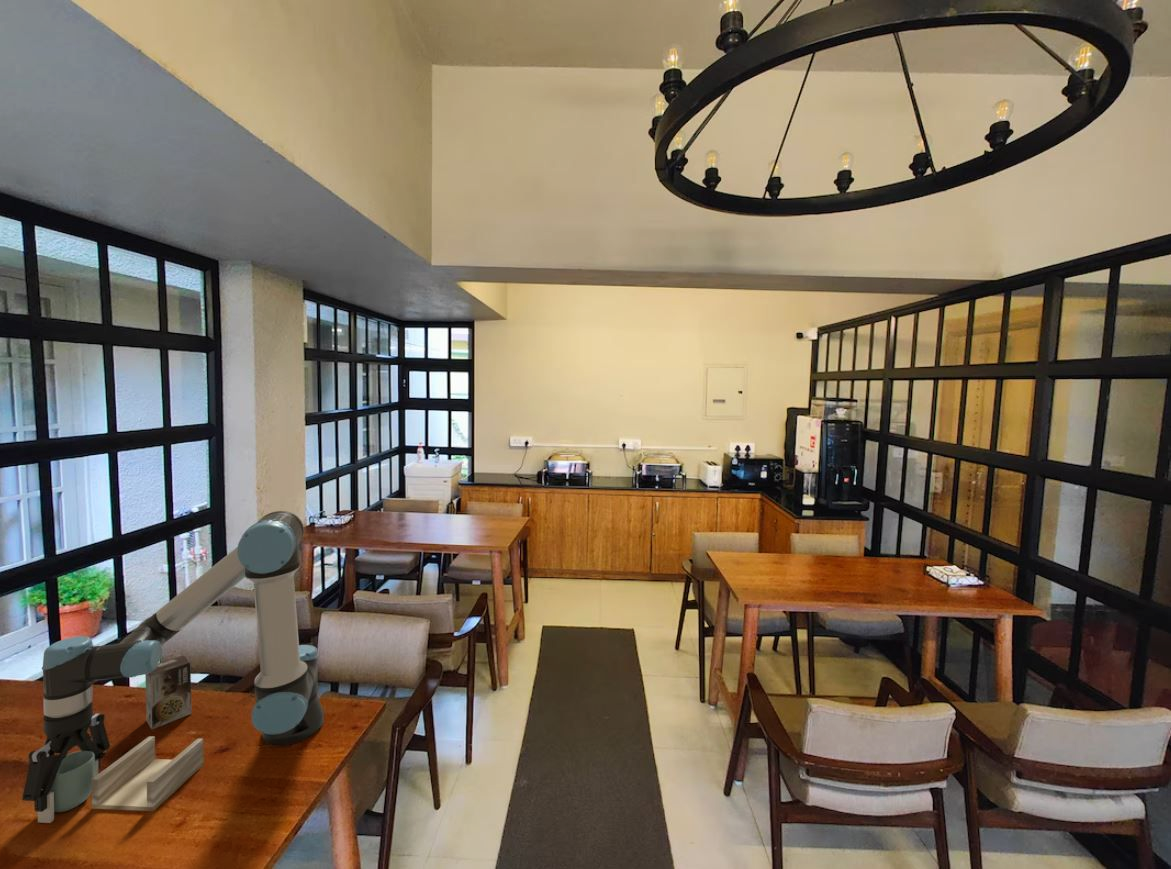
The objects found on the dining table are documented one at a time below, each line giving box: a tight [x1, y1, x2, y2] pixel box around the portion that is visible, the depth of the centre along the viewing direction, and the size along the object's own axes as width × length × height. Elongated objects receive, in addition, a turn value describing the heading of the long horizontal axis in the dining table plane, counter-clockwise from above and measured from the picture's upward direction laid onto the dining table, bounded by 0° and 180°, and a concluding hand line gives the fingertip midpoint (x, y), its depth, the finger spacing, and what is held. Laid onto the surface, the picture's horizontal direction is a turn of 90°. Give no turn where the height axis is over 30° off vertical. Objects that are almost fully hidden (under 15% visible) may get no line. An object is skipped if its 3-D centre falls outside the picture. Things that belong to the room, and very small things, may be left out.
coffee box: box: [144, 655, 193, 730], centre depth 138 cm, size 9×6×16 cm
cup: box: [50, 750, 95, 813], centre depth 108 cm, size 8×8×10 cm
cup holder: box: [91, 736, 204, 812], centre depth 114 cm, size 14×14×7 cm
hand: (69, 803), depth 108 cm, fingers open, 9 cm apart
